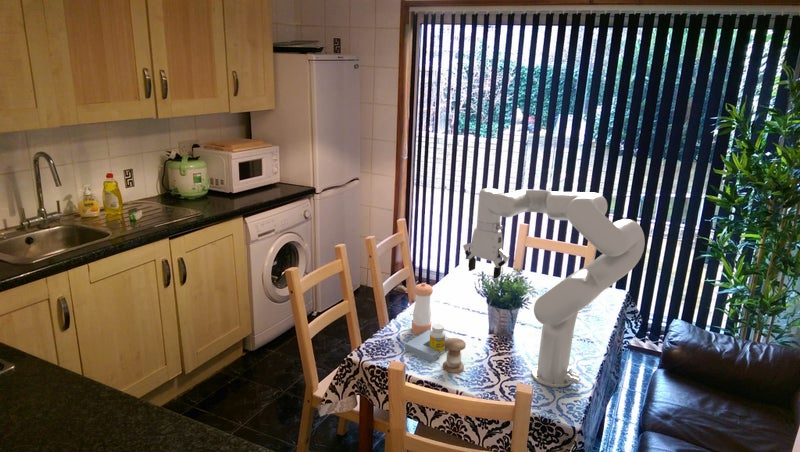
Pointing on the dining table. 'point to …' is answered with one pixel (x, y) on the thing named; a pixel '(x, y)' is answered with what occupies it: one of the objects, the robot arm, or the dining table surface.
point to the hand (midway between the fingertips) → (483, 273)
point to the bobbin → (454, 355)
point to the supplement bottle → (437, 338)
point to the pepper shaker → (422, 309)
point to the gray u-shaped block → (423, 347)
